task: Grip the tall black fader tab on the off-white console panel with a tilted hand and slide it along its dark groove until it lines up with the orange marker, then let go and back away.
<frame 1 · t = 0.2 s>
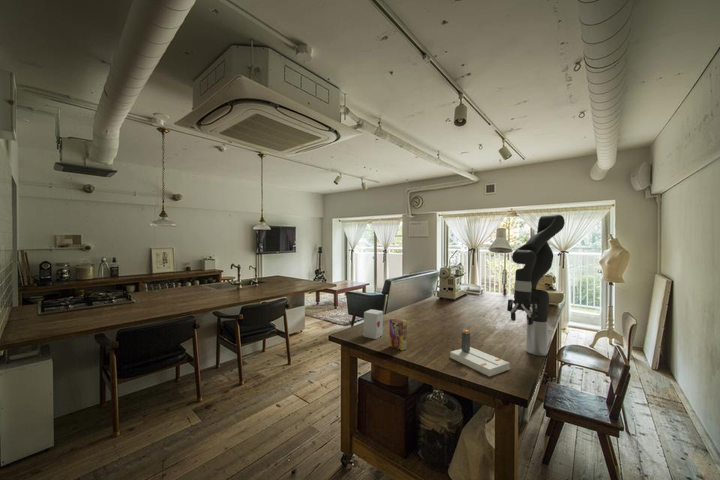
hand: (521, 322, 141), 18 cm above the table, tool pointing down, fingers open, 8 cm apart
console panel: (478, 363, 134), on the table
fader tab: (465, 340, 141), point 8 cm above the table, slide at -7.5 cm
supplement box: (373, 336, 171), on the table
candy box: (397, 348, 153), on the table
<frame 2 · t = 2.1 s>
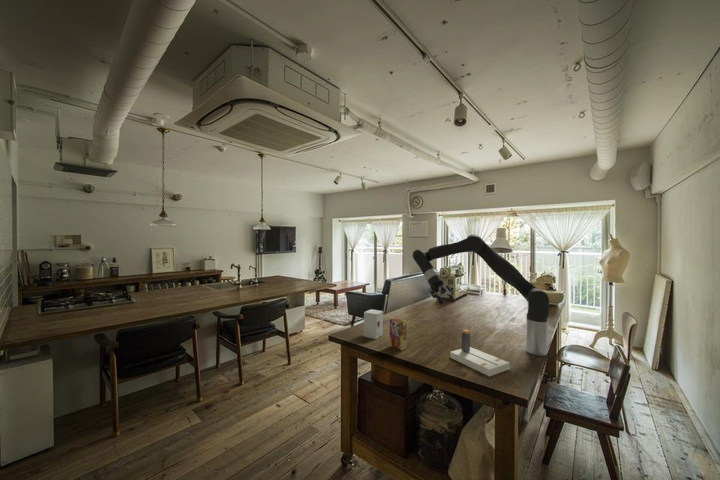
hand: (448, 302, 150), 25 cm above the table, tool tilted 45°, fingers open, 8 cm apart
nothing on the table moved.
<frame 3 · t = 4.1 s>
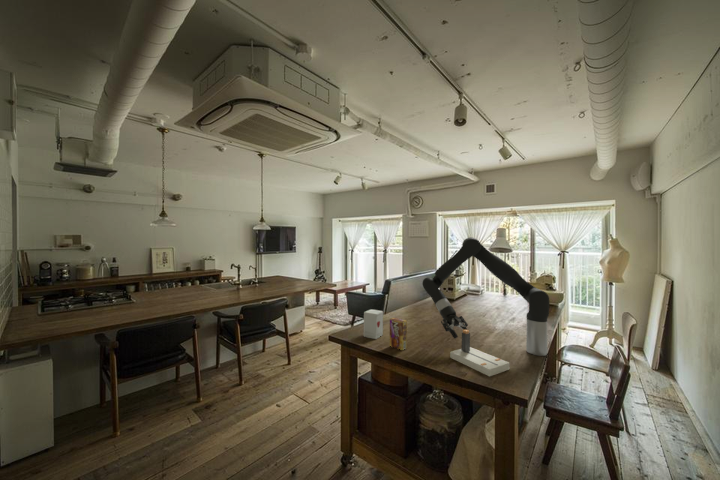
hand: (462, 336, 143), 10 cm above the table, tool tilted 45°, fingers open, 8 cm apart
nothing on the table moved.
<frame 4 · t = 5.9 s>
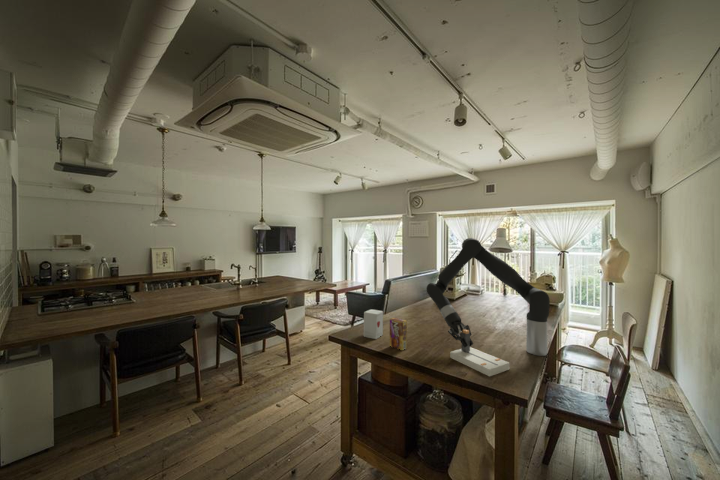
hand: (469, 345, 139), 6 cm above the table, tool tilted 45°, fingers closed on fader tab, 3 cm apart
fader tab: (465, 340, 141), point 8 cm above the table, slide at -7.5 cm, touching gripper
everything else where it was.
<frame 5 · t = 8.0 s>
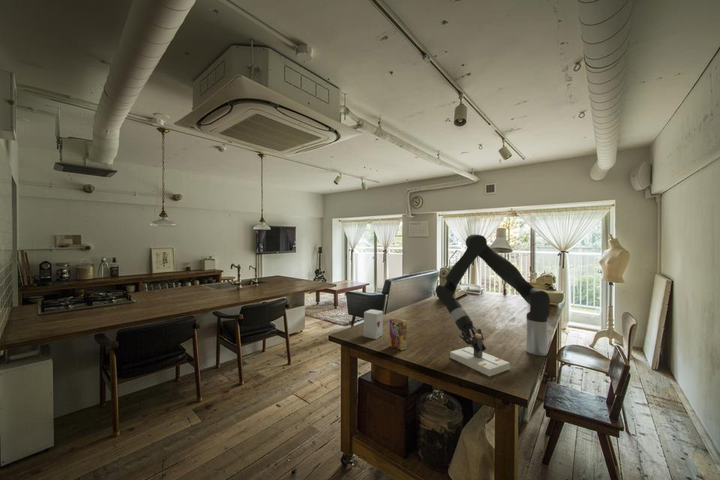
hand: (481, 350, 133), 6 cm above the table, tool tilted 45°, fingers closed on fader tab, 3 cm apart
fader tab: (478, 345, 134), point 8 cm above the table, slide at -0.3 cm, touching gripper
everything else where it was.
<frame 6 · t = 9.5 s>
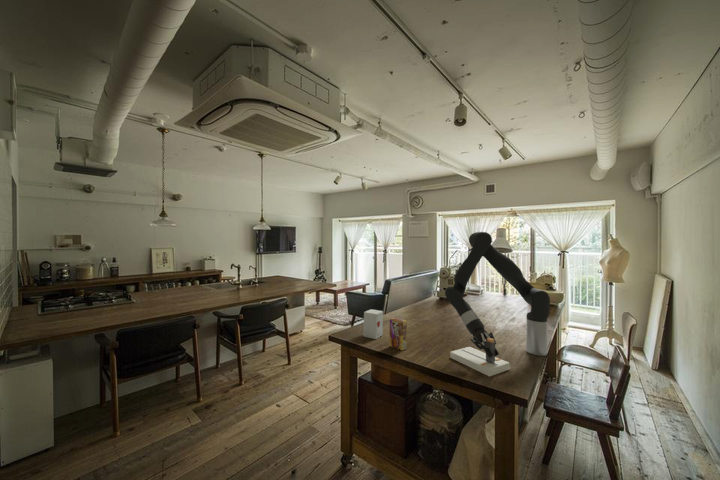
hand: (494, 355, 127), 6 cm above the table, tool tilted 45°, fingers closed on fader tab, 3 cm apart
fader tab: (490, 350, 129), point 8 cm above the table, slide at 6.3 cm, touching gripper
everything else where it was.
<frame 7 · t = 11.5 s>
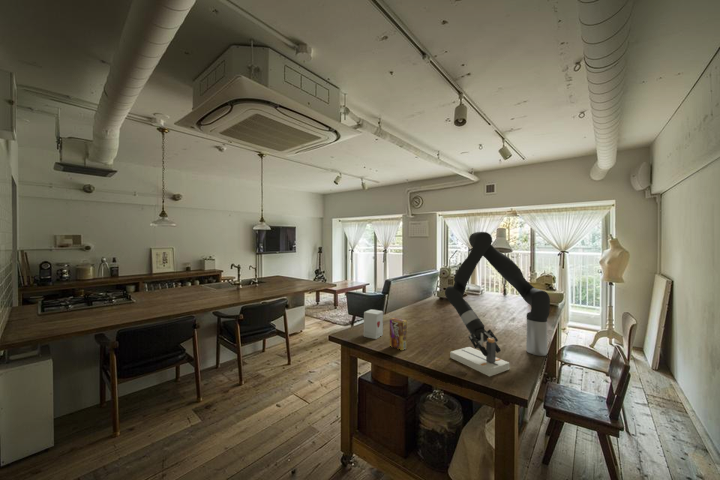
hand: (493, 353, 127), 7 cm above the table, tool tilted 45°, fingers open, 8 cm apart
fader tab: (490, 350, 128), point 8 cm above the table, slide at 6.5 cm
everything else where it was.
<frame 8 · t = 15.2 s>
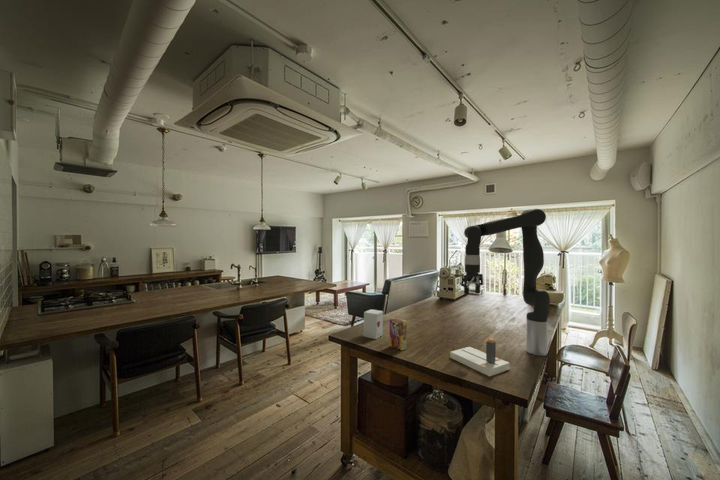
hand: (472, 294, 150), 30 cm above the table, tool pointing down, fingers open, 8 cm apart
nothing on the table moved.
at the end: fader tab slide at 6.5 cm; the gripper is holding nothing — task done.
